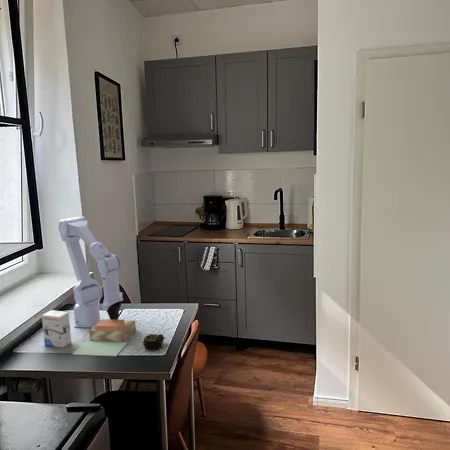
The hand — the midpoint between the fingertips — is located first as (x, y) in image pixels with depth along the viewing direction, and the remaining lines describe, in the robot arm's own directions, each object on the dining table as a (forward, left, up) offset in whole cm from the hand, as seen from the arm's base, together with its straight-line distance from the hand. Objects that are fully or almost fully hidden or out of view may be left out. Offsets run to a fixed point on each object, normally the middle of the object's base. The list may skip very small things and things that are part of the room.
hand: (114, 321), depth 159 cm
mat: (0, -13, -5) cm, 14 cm away
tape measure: (+19, -10, -5) cm, 22 cm away
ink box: (-18, -10, -5) cm, 21 cm away
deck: (0, -2, -5) cm, 5 cm away
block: (0, -4, -1) cm, 4 cm away
